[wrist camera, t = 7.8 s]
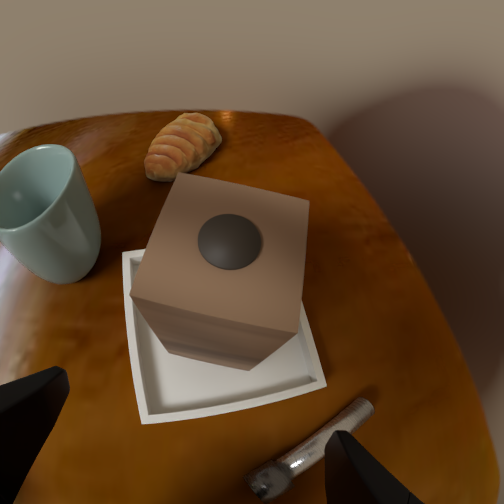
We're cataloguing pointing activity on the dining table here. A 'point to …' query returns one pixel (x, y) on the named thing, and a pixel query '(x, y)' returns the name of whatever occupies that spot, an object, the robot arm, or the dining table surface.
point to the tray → (210, 370)
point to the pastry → (181, 147)
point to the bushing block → (224, 271)
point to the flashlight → (305, 453)
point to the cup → (49, 214)
